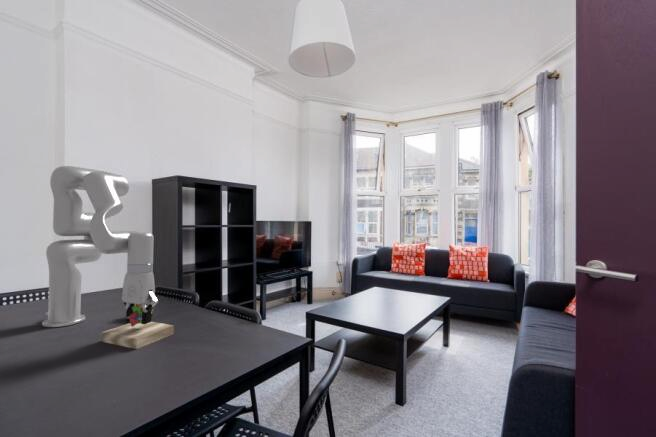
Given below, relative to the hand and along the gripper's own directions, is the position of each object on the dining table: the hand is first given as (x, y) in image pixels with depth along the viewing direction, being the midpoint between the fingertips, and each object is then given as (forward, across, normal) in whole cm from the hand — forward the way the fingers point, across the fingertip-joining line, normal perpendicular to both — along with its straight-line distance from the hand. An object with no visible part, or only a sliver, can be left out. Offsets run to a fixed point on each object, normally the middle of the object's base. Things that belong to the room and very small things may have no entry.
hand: (138, 321), depth 105 cm
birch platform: (+5, 0, 0) cm, 5 cm away
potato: (+6, -18, +14) cm, 24 cm away
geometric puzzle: (+1, 0, 0) cm, 1 cm away
